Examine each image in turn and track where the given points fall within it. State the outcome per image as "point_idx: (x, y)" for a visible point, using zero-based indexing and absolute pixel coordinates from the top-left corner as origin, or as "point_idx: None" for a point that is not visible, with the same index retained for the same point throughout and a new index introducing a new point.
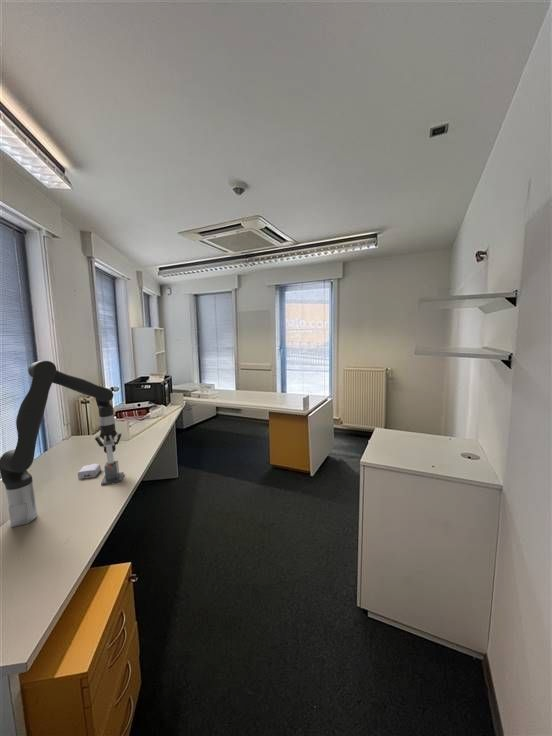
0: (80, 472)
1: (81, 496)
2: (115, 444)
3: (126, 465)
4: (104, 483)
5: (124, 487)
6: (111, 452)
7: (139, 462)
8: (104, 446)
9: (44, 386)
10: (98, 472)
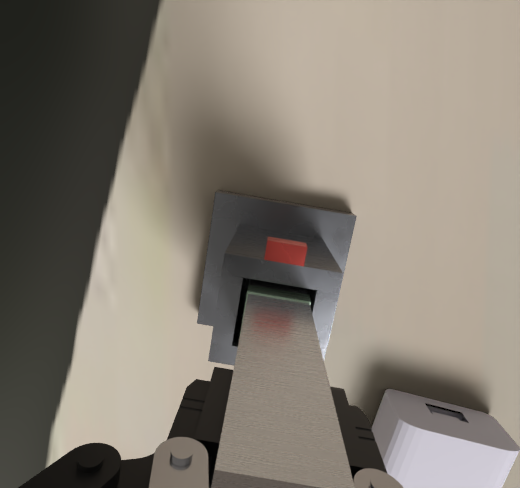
0: (502, 445)
1: (485, 112)
2: (140, 462)
3: None
4: (332, 211)
5: (196, 78)
6: (253, 359)
7: None
8: (380, 479)
9: None
10: None
